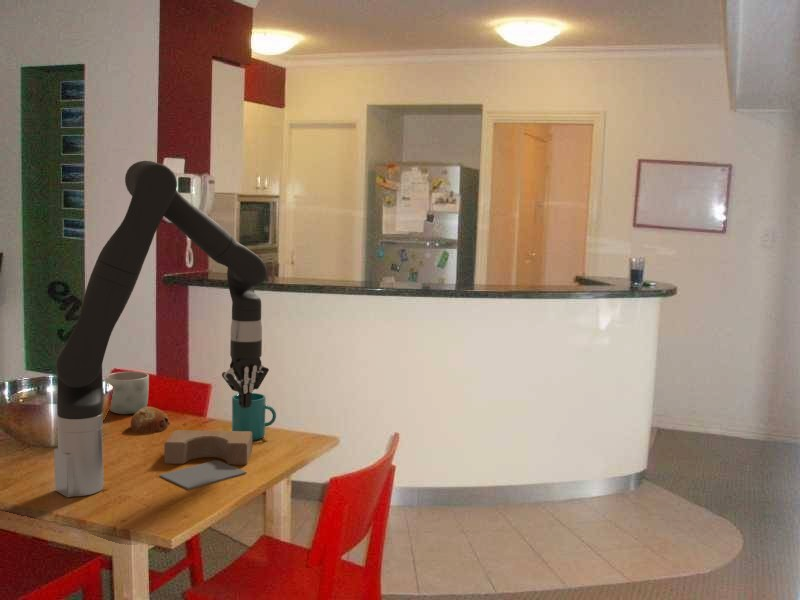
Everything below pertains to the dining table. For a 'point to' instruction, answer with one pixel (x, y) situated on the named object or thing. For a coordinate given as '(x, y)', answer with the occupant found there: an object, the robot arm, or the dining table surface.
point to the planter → (128, 391)
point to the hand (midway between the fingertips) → (245, 407)
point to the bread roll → (149, 420)
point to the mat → (202, 474)
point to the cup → (251, 416)
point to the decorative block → (208, 446)
